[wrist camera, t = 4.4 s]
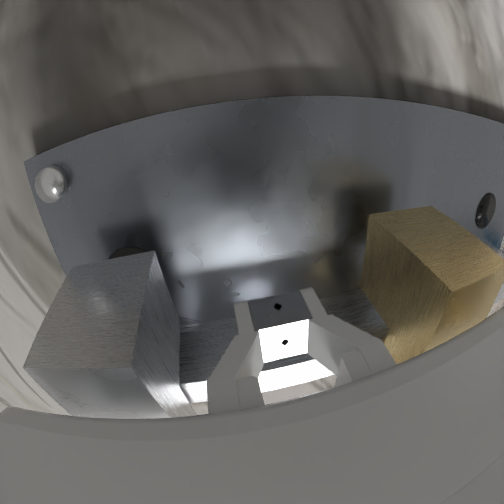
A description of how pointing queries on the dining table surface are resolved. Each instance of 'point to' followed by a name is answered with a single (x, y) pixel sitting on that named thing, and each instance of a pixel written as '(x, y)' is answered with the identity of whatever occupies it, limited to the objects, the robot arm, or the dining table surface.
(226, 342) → the trammel bar
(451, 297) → the block
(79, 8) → the dining table surface
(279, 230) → the bolt plate
